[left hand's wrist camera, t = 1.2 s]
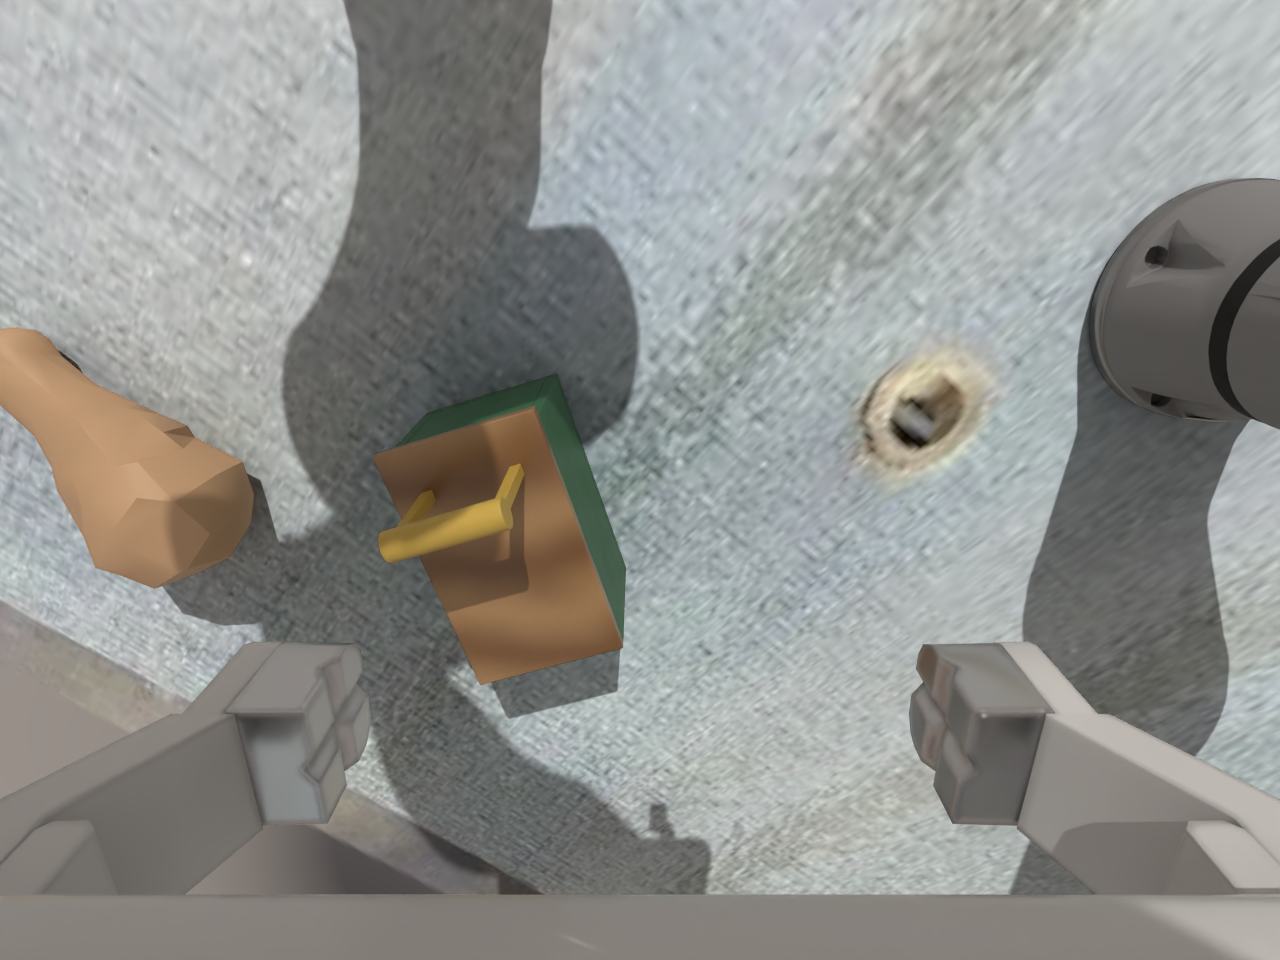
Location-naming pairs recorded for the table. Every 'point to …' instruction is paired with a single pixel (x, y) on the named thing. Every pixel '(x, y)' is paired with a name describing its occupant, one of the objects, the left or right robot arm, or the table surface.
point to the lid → (499, 545)
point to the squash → (125, 469)
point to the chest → (568, 459)
